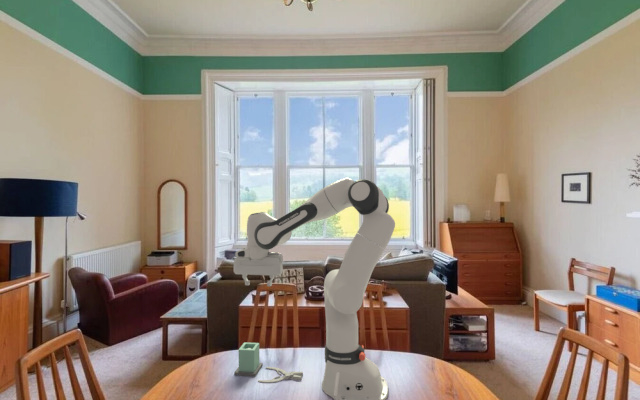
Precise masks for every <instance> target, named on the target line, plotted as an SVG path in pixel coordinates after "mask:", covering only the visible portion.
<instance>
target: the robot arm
mask: <svg viewBox="0 0 640 400" xmlns="http://www.w3.org/2000/svg"><path fill="white" fill-rule="evenodd" d="M349 207H353V208H354V210H356V211H357V213H358V214H360V215H362V218H363V219H362V223H361V225H360V227H359V229H358V230H357V233H356V234H355V235H354V237H353V239H352V240H351V242H350V243H349V245H348V247H347V249H346V251H345V253H344V255H343V256H344V257H343V259H342V262H341V265H340V267H339V268H337V269H332V270H330V271H329V272H328V273H327V274H326V275H325V277H324V282H323V293H324V294H323V296H324V311H325V312H324V313H325V331H326V332H325V337H326V338H325V339H326V340H325V346H324V362H325V365H324V366H325V368H324V375H323V380H322V383H321V389H322V390H323V392H324V393H325V394H326V395H328V396H330V397H331V398H333V400H387V398H388V396H389V385H388V382H387V380H386V379H385V378H384V376H381V372H380V369H379V366H378V365H377V364H376V363H374V362H373V361H372V360H371V359H369V358H367V357H366V353H365V348H364V345H363V344H362V345H360V344H359V320H358V313H357V312H358V311H359V310H360V308H361V307H362V305H363V302H364V294H365V292H366V289H367V287H368V284H369V281H370V279H371V277H372V273H373V271H374V269H375V267H376V265H378V264H377V263H379V260H380V258H381V257H382V255H383V253H384V252H385V250H386V249H387V246H388V244H389V243H390V240H391V238H392V237H393V234H394V230H395V228H396V227H395V226H396V222H395V219H394V218H393V217H392V216H391V214H389V209H390V208H389V207H390V204H389V201H388V198H387V197H386V196H385V194H384V192H383V191H382V189H381V188H379V186H378V185H376V183H375V182H374V181H372V180H371V179H370V180H369V179H365V178H361V179H357V180H354V179H352V178H350V177H344V178H341V179H338V180H336V181H333V182H331V183H330V184H328V185H326V186H324V187H322V188H321V189H319V190H318V191H317V192H316V193H314V194H313V195H312V196H310V197H309V198H308V199H307V200H306V201H304V202H303V203H302V204H300V205H299V206H297V207H296V208H295V209H293V210H292V211H290V212H288V213H286V214H285V215H283V216H281V217H279V218H276V217H273V216H271V215H270V214H268V212H266V211H260V212H254V213H251V214H249V216H248V218H247V221H246V236H247V242H246V247H244V248H241V249H239V250H237V251H235V258H234V261H233V273H234V274H235V275H241V277H242V279H243V281H244V286H250V284H251V283H250V282H251V280H249V279H248V275H249V276H250V275H251V276H269V278H270V280H268V281H267V282H266V287H272V286H273V280H274V279H275V276H276V277H277V276H281V275H282V274H283V273H284V265H283V260H284V258H283V257H284V256H283V254H281V253H280V252H278V251H277V252H273V251H270V250H272V249H274V248H275V247H277V246H279V245H282V244H285V243H287V242H288V241H289V240H290V239H291V237H292V233H293V231H294V230H296V229H298V228H299V227H301V226H304V225H307V224H309V223H313V222H317V221H322V220H325V219H328V218H330V217H333V216H335V215H336V214H339V213H341V212H342V211H344V210H345V209H347V208H349Z"/></svg>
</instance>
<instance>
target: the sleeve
mask: <svg viewBox="0 0 640 400" xmlns="http://www.w3.org/2000/svg"><path fill="white" fill-rule="evenodd" d="M247 348H251V349H247ZM259 363H260V343H259V342H248V341H247V342H243V343H242V345H240V347H239V349H238V367H239V371H247V372H255V370H256V368H257V367H258V365H259Z"/></svg>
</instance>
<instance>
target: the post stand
mask: <svg viewBox="0 0 640 400" xmlns="http://www.w3.org/2000/svg"><path fill="white" fill-rule="evenodd" d="M247 349H251V348H247ZM263 366H264V365H263V362H259V365H258V367H257V368H256V370H255V372H247V371H239V366H238V367H237V368H236V370H235V371H234V376H242V377H254V378H255V377H256V376H257V375H258V373H259V372H260V370H261V369H262V367H263Z"/></svg>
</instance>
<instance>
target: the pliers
mask: <svg viewBox="0 0 640 400" xmlns="http://www.w3.org/2000/svg"><path fill="white" fill-rule="evenodd" d="M265 369H267V370H273V371H276V373H277V374H278V376H275V377H273V378H272V379H266V380H265V379H264V380H263V379H262V380H261V379H258V381H257V382H258V383H264V384H272V383H278V382H281V381H285V380H288V379H289V380H295V381H302V379H303V378H302V377H303V376H304V372H303V371H289V372H287V371H286V370H285V369H282V368H279V367H275V366H274V367H273V366H266V367H265Z"/></svg>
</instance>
